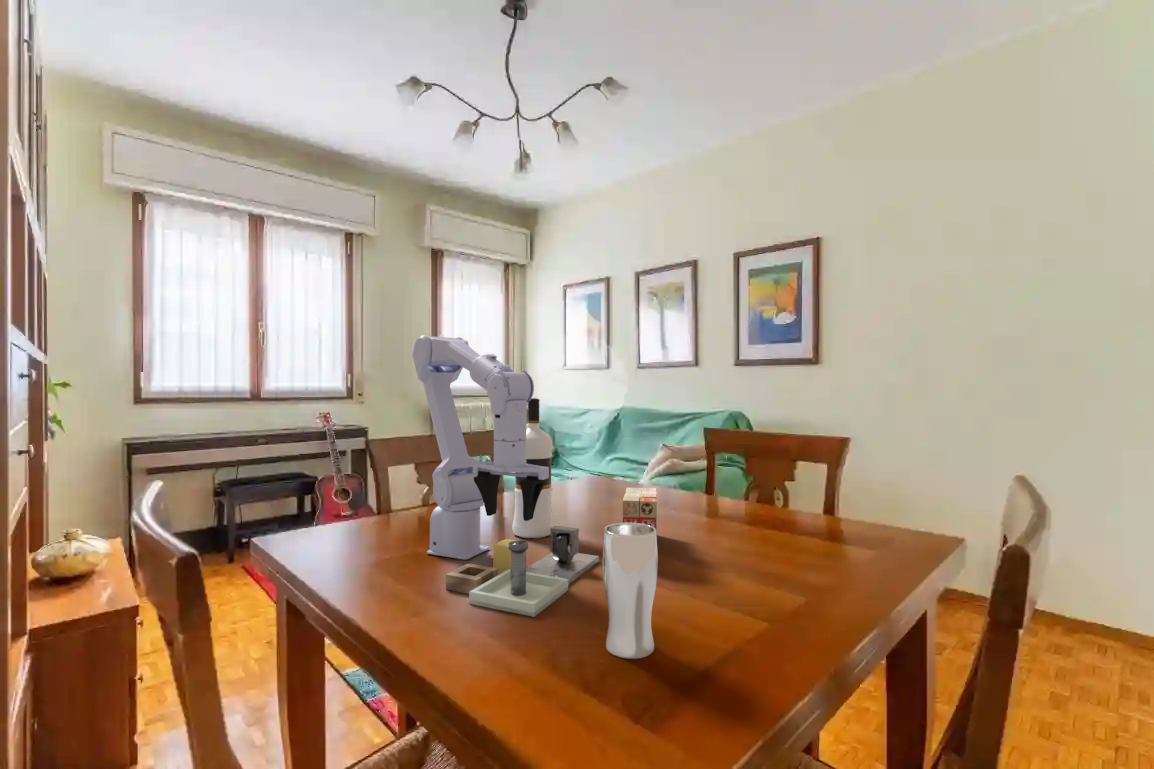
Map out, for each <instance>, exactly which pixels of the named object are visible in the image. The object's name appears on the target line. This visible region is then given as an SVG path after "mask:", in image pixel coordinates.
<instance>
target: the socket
mask: <svg viewBox="0 0 1154 769" xmlns="http://www.w3.org/2000/svg"><path fill="white" fill-rule="evenodd" d="M498 575H499V574H498V568H493V566H492V567H490V566H485V565H480V564H472V563H466V564H464V565H463V566H460V567H458V568H456V569H453V570H452V571H449V572H447V573H446V574H445V590H447V591H452V592H453V591H454V592H458V593H463V594H467V595H469V592H470V591H471V590H473V589H475V588H477V587H478V586H480V585H482V584H484V583H485V582H487V581H489V580H491V579H492V578H494V577H496V576H498Z"/></svg>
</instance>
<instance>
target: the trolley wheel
mask: <svg viewBox="0 0 1154 769" xmlns="http://www.w3.org/2000/svg"><path fill="white" fill-rule="evenodd" d="M579 531H580V529H579V528H578V527H569V526H564V525H563V526H562V525H560V526H559V525H554V526H553V527H551V528H550V535H549V536H550V539H549V540H550V543H549V544H550V545H549V547H550V550H549V551H550V552H549V553H548V554H547V555H544V556H543V557H542V558H540V559H538V560H537V561H535V562H534V563H532V564H530V565H528V566H526V572H528V573H534V574H540V575H546V576H552V577H558V578H564V579H568V585H570V584H571V583H573V582H574V581H575V580H577V578H580V576H582V575H583V574H584V573H586V572H587V571H588V570H590V569H591V568H592V567H593V566H595V565H596V564H598V563H599V561H600V556H599V555H595V554H594V555H593V554H588V553H580V552H579V536H580V535H579V534H580V533H579Z"/></svg>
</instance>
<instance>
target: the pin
mask: <svg viewBox="0 0 1154 769" xmlns="http://www.w3.org/2000/svg"><path fill="white" fill-rule="evenodd" d="M516 540H517V539H516ZM528 549H529V542H528V541H526V540H521V539H520V540H517V541H511V542H509V550H511V595H513V596H522V595H525V594H526V568H527V550H528Z"/></svg>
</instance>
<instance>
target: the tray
mask: <svg viewBox="0 0 1154 769" xmlns="http://www.w3.org/2000/svg"><path fill="white" fill-rule="evenodd" d="M568 591H569V584H568V579H564V578H558V577H552V576H546V575H540V574H534V573H528V572H526V594H525V595H522V596H513V595H511V570H510V569H508V570H506V571H505V572H503V573H501V574H498V576H496V577H494V578H492V579H491V580H489V581H487V582H485V583H484V584H482V585H480V586H478V587H477V588H475V589H473V590H471V591H470V592H469V594H468V595H469V596H468V597H469V599H468V604H470V605H474V606H479V607H484V608H488V609H493V610H497V611H504V612H509V613H513V614H518V615H523V616H527V617H528V616H529V617H532V618H533V617H534V618H535V617H536V616H538V615H539V614H540V613H541V612H542V611H544V610H545V609H546V608H548V607H549V606H551V604H553V603H554V602H555V601H557V600H558V599H559V598H560V597H562V596H563V595H564V594H565V593H567V592H568Z"/></svg>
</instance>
